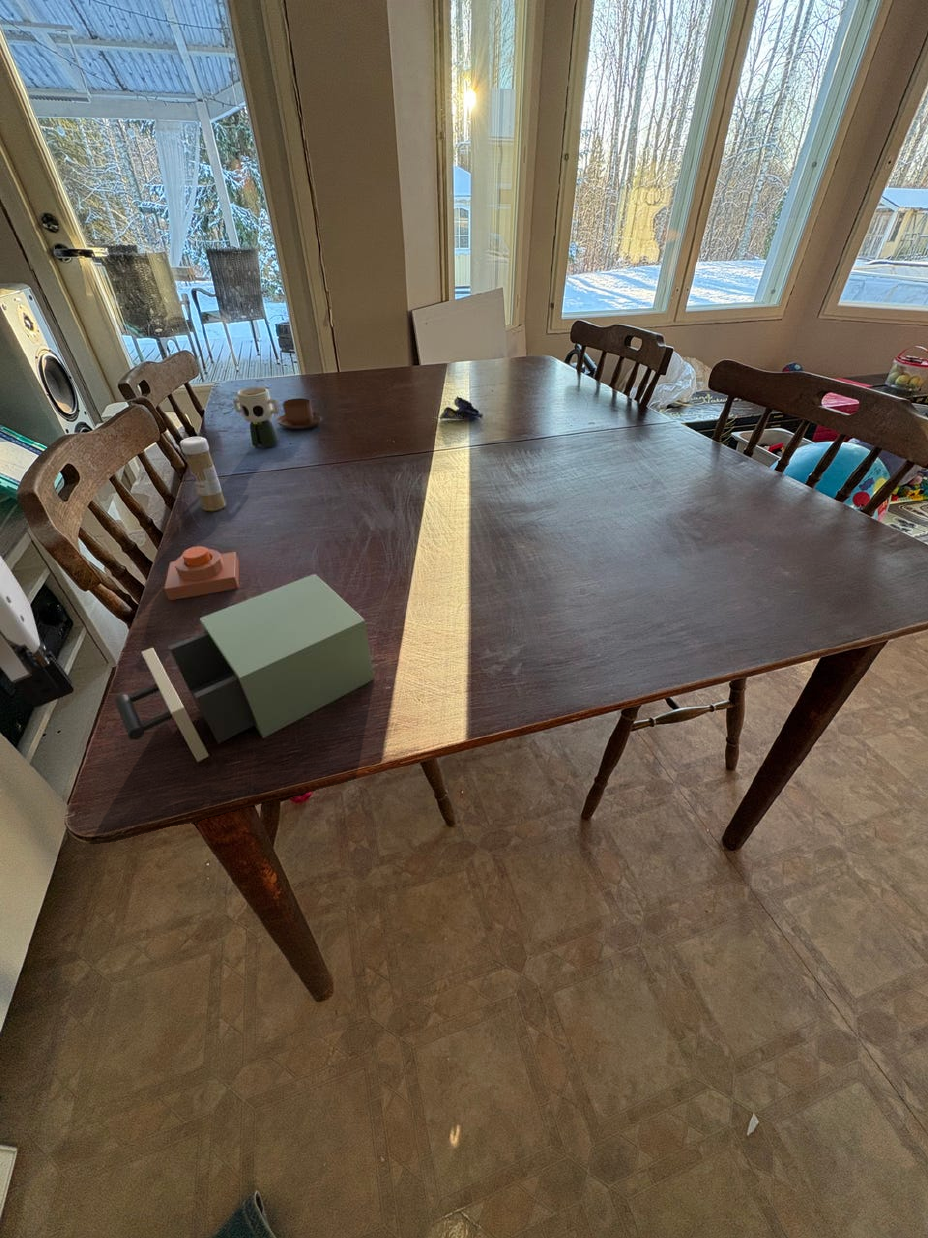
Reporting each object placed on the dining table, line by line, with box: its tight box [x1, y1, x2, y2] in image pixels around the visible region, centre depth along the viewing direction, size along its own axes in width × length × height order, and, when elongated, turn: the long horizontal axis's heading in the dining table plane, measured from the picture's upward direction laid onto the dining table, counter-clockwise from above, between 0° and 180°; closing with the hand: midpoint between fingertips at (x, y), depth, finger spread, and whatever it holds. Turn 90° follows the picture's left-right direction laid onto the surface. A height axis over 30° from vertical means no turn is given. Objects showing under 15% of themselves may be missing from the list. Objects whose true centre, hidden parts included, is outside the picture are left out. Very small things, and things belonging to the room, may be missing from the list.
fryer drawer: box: [114, 631, 256, 763], centre depth 57 cm, size 18×11×8 cm, turn 130°
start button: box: [181, 545, 211, 567], centre depth 79 cm, size 4×4×2 cm
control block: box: [163, 548, 240, 601], centre depth 81 cm, size 10×8×4 cm
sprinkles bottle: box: [179, 436, 227, 512], centre depth 98 cm, size 5×5×13 cm
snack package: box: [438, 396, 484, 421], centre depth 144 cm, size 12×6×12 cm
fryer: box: [199, 573, 375, 739], centre depth 62 cm, size 15×13×10 cm
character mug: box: [232, 386, 280, 448], centre depth 125 cm, size 11×7×13 cm, turn 85°
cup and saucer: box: [276, 397, 323, 430], centre depth 139 cm, size 12×12×6 cm
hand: (53, 694), depth 47 cm, fingers closed
